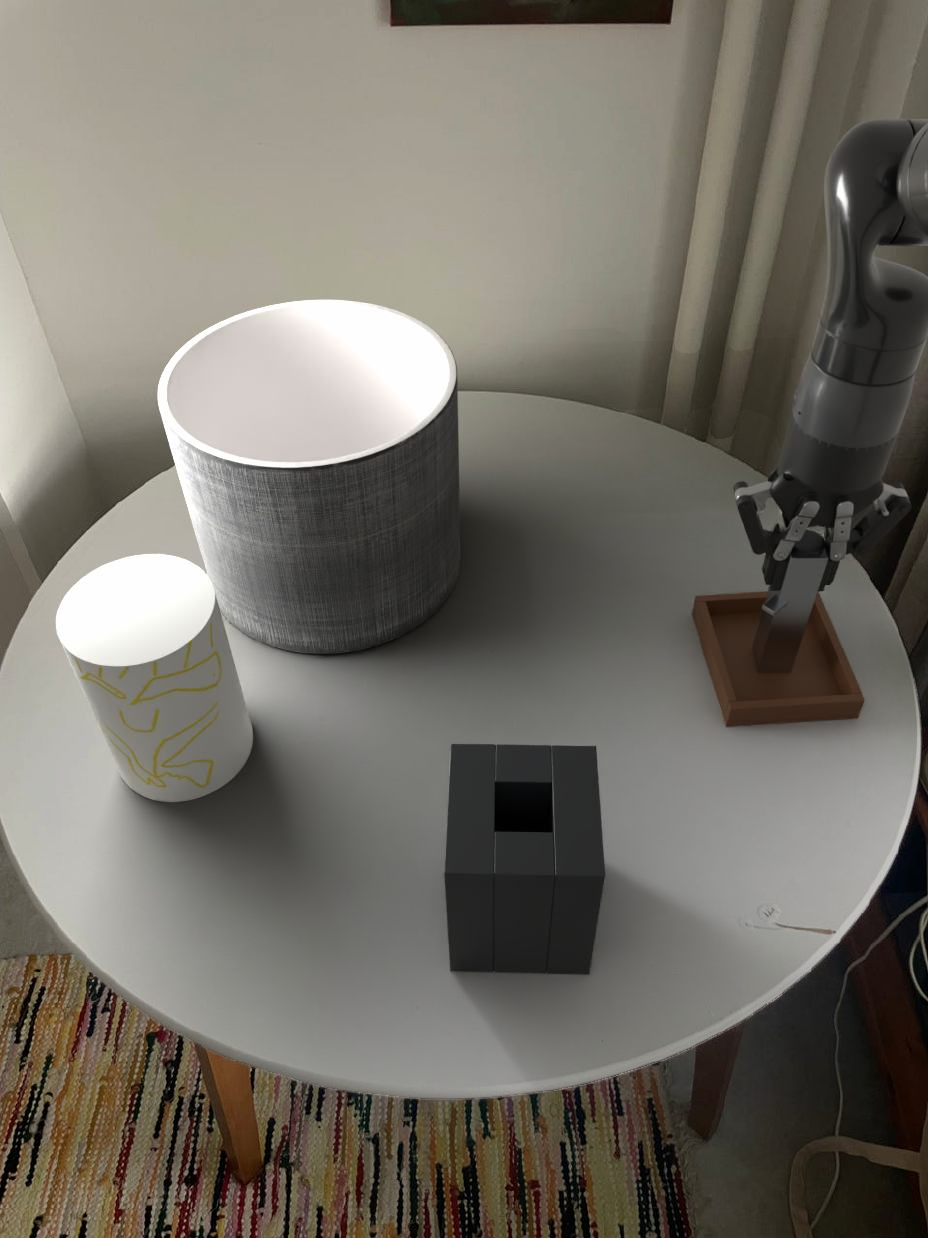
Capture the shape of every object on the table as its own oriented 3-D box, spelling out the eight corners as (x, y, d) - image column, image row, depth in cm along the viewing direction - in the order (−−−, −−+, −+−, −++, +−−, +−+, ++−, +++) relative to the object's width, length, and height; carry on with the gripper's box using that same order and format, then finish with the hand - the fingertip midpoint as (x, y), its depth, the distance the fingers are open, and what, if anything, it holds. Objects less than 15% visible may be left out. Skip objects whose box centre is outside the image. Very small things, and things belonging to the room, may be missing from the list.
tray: (858, 718, 89) (865, 700, 87) (725, 727, 89) (730, 709, 87) (811, 606, 98) (817, 588, 97) (691, 613, 98) (695, 595, 96)
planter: (188, 660, 95) (127, 471, 79) (229, 485, 112) (186, 301, 96) (463, 655, 95) (457, 464, 79) (461, 481, 112) (456, 296, 96)
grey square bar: (797, 637, 95) (835, 517, 84) (809, 684, 91) (851, 565, 80) (734, 636, 95) (765, 516, 85) (744, 684, 91) (777, 564, 81)
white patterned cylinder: (115, 813, 84) (50, 678, 71) (118, 705, 91) (60, 566, 79) (257, 787, 85) (218, 651, 73) (248, 683, 93) (211, 543, 81)
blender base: (582, 852, 80) (596, 745, 70) (589, 975, 74) (605, 876, 63) (455, 849, 81) (450, 743, 71) (450, 972, 74) (444, 873, 64)
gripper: (756, 443, 71) (716, 615, 84) (962, 444, 71) (890, 617, 83) (739, 382, 76) (704, 553, 89) (931, 382, 76) (868, 554, 88)
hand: (794, 583), depth 86 cm, fingers closed on grey square bar, 3 cm apart
